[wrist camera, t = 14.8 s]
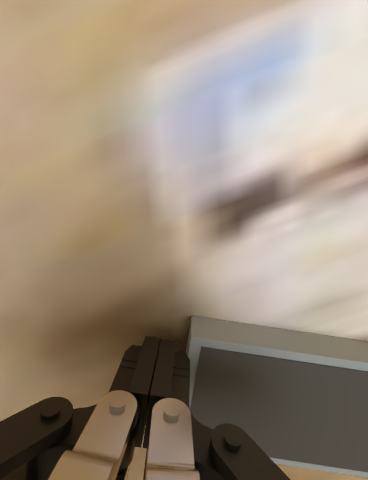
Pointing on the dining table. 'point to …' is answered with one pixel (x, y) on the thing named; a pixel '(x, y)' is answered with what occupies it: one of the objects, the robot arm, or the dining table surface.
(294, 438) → the phone
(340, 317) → the dining table surface
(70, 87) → the dining table surface
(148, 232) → the dining table surface
